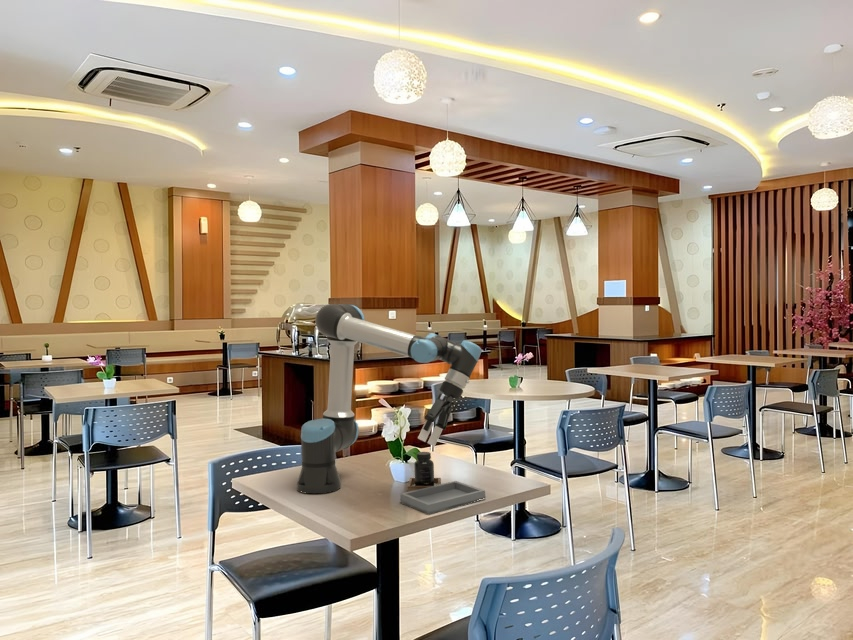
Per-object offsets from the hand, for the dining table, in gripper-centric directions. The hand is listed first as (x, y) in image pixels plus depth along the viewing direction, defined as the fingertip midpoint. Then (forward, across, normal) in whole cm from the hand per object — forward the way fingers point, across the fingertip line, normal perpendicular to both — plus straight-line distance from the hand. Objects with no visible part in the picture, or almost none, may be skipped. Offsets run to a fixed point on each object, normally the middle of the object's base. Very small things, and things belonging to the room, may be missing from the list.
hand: (426, 442), depth 205 cm
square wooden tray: (+14, +15, -2) cm, 21 cm away
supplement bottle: (+14, +15, -2) cm, 21 cm away
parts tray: (+14, +2, -13) cm, 19 cm away
